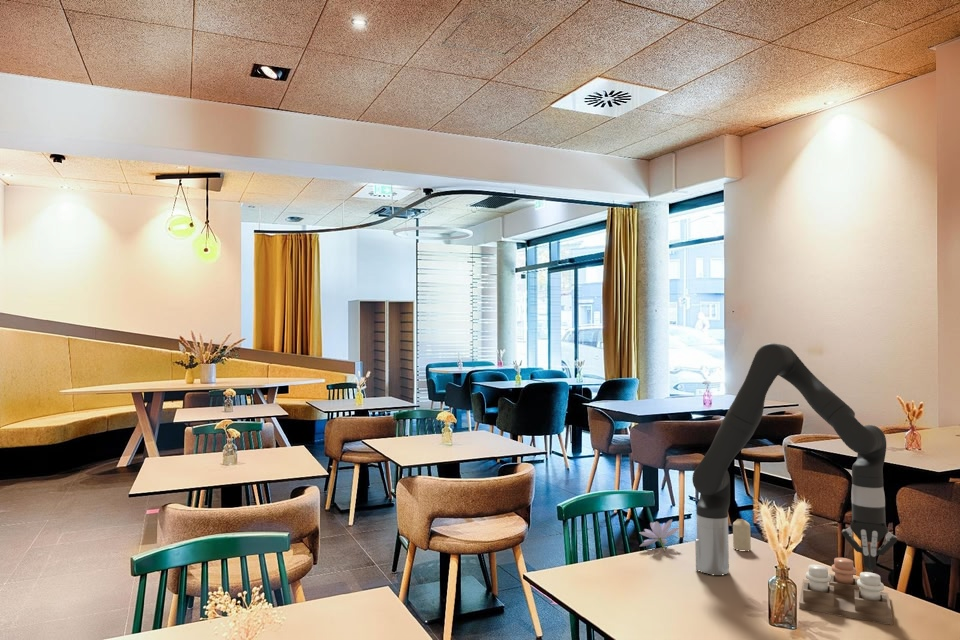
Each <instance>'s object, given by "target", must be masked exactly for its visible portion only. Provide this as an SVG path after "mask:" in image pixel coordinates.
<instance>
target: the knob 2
mask: <svg viewBox="0 0 960 640" xmlns="http://www.w3.org/2000/svg"><path fill="white" fill-rule="evenodd" d="M857 586H858V587H859V588H861V597H862V598H864V599H868V600H874V601H880V600H881V598H880V592H884V589H885V585H884V583H883V582H881V575H879V574H878V573H873V572H871V571H861V572H860V573H859V579H858V580H857Z"/></svg>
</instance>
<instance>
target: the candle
mask: <svg viewBox="0 0 960 640" xmlns="http://www.w3.org/2000/svg"><path fill="white" fill-rule="evenodd" d="M732 537H733V538H732V541H733V542H732V543H733V544H732V546H733V547H734V548H735V549H738V550H745V551H748V550H750V551H751V550H752V543H751V524H750V523H749V522H748V521H747V520H745V519H743V518H737V519H736V520H735V521H733V523H732ZM734 548H733V549H734ZM735 549H734V550H735ZM748 552H749V551H748Z"/></svg>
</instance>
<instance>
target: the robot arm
mask: <svg viewBox="0 0 960 640" xmlns="http://www.w3.org/2000/svg"><path fill="white" fill-rule="evenodd" d="M778 376H779V377H781V378H782V379H784V380H785V381H787V382H788V383H790V384H791V385H793V387H794V388H796V390H797V391H799V392H800V394H801V395H802V397H803V398H804V399H805V401H806V403H807V404H809V406H810V407H811V408H812V410H813V411H815V412H816V414H817V415H819V416H820V418H822V420H824V421H825V422H826V423H827V424H828V425H829V426H831V428H833V430H834V431H835V433H836V434H837V435H838V437H839V438H840V440H841V441H842V442H843V443H844V444H845V445H846V446H847V447H848V448H849V449H850V450H852V451H853V452H855V453H856V454H857V457H856V461H855V462H854V463H853V464H852V467H851V483H852V484H851V491H850V492H851V495H850V496H851V497H850V500H851V522H850V525H849V527H847V528H843V529H842V530H841V535H842V537H844V539H845V540H846V541H847V542H848V543H849V545H851V547H852V548H853V549H854V551H855V552H857V553H861V554H862V559H863V560H862V561H863V564H862V565H863V567H864V568H866V571H872V572H873V571H874V569H875V570H876V569H877V556H884V555H885V554H886V553H887V552H888V551H889V550H890V549H891V548H892V547H893V546H894V545H895V544H896V543H897V542H898V537H897V536H896V535H895V534H892V533H891V532H890V531H889V528H888V527H887V525H886V524H887V523H886V521H887V520H886V496H885V490H884V473H883V469H884V466H885V465H884V463H885V459H886V453H887V439H886V435H885V433H884V431H883V430H882V429H881V428H879V426H876V425H872V424H871V425H870V424H868V425H864V424H862V423H861V422H860V421H859V420H858V419H857V418H856V412H855V411H854V410H853V408H851V407H850V406H849V405H848V404H847V403H846V402H845V401H843V400H842V399H841V398H840V397H839V396H838V395H836V393H834V392H833V391H832V390H831V389H830V388H829V387H827V385H825V384H824V383H823V382H822V381H820V379H818V378H817V376H815V375H814V373H812V371H811V370H810V369H809V368H808V367H807V366H806V365H805V363H804V361H802V360H801V359H800V357H799V356H798V355H797V354H796V352H795V351H793V349H791V348H790V347H789V346H787V345H785V344H780V343H779V344H778V343H776V342H775V343H773V342H770V343H769V342H768V343H765V344H764V345H762V346H761V347H760V348H758V349H757V351H756V352H755V354H754V357H753V359H752V362H751V365H750V366H749V369H748V373H747V374H746V376H745V379H744V380H743V381H744V382H743V384H742V385H741V387H740V389H739V390H738V392H737V394H736V396H735V398H734V399H733V401H732V403H731V405H730V406H729V408H728V410H727V412H726V414H725V415H724V418H723V419H722V421H721V424H720V426H719V427H718V430H717V432H716V434H715V436H714V439H713V441H712V443H711V444H710V446H709V449H708V450H707V452H706V453H705V455H704V456H703V458H702V459H701V461H700V462H699V463H698V465H697V466H696V468H695V469H694V470H693V472H692V479H691V480H692V484H693V487H694V489H695V491H697V492H698V493H699V499H698V502H697V503H696V506H695V508H696V511H695V513H696V539H695V544H694V545H695V571H696V570H700V571H702V572H704V573H708V574H714V575H722V574H727V573H728V572H730V564H729V561H730V560H729V559H730V557H729V554H730V553H729V508H730V504H731V478H730V477H731V476H730V473H729V470H728V468H729V467H730V465H731V463H732V461H733V460H734V459H735V458H736V457H737V455H738V454H739V453H740V451H742V449H743V448H745V446H746V445H747V444H748V442H749V441H750V440H751V438H752V437H753V435H754V434H755V432H756V430H757V428H758V427H759V425H760V423H761V421H762V418H763V415H764V408H765V402H766V401H765V400H766V396H767V394H768V392H769V389H770V388H771V386H772V384H773V383H774V381H775V379H776V378H777V377H778ZM853 533H854V534H853ZM853 535H855V536H856V537H857V538H858V540H860V541H861V546H860V545H859V543H858V542H857V541H856V540H855V538H854V537H853ZM884 537H885V542H884V543H882V545H881V546H880V547H878V543H880V542H881V541H882V540H883V539H884ZM868 543H870V550H869V545H868ZM877 547H878V548H877ZM869 552H870V553H869ZM702 572H701V573H702ZM704 573H703V574H704ZM708 574H707V575H708ZM728 574H729V573H728ZM728 574H727V575H728ZM714 575H713V576H714ZM722 576H723V575H722Z"/></svg>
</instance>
